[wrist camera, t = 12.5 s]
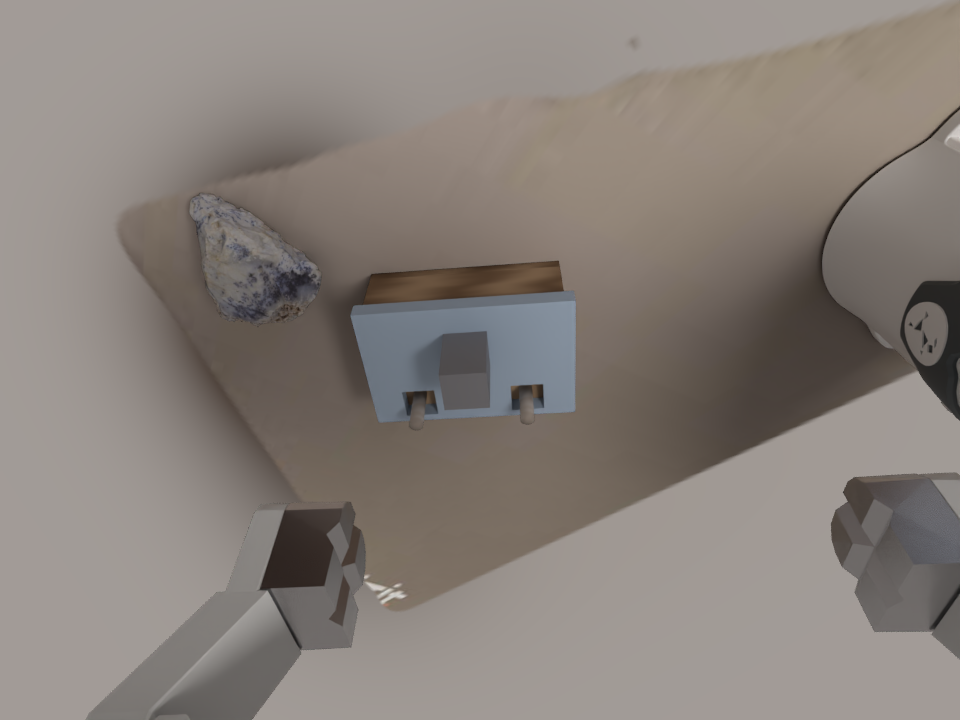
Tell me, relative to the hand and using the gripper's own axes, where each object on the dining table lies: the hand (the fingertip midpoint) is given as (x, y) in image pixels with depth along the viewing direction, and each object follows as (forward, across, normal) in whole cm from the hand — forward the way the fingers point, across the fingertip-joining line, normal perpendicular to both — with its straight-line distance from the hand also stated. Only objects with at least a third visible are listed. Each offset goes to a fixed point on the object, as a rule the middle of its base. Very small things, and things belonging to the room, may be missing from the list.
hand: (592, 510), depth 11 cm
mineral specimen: (+34, +19, +12) cm, 41 cm away
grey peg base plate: (+29, +5, +19) cm, 35 cm away
